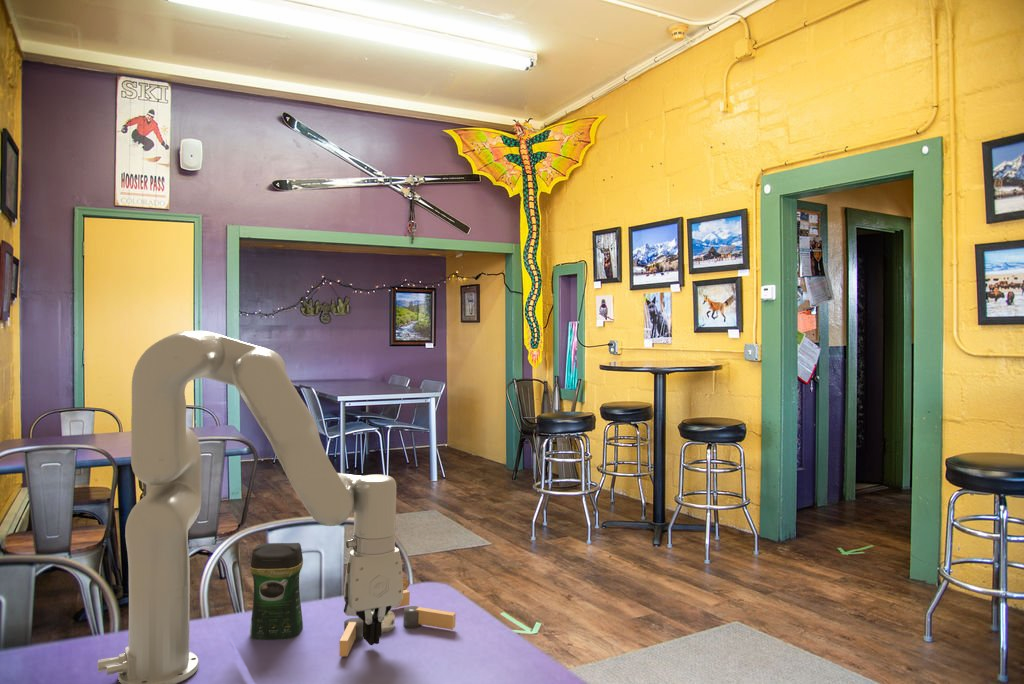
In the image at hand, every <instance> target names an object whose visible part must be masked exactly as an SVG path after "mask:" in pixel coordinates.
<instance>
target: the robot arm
mask: <svg viewBox="0 0 1024 684" xmlns="http://www.w3.org/2000/svg"><path fill="white" fill-rule="evenodd" d="M201 378H205V379H209V380H212V381H216V382H219V383H223V384H227V385H229V386H234V387H235V388H236V389H237V391H238V393H239V395H240V396H241V398H242V399H243V401H244V402H245V405H246V406H247V408H248V409H249V410H250V412H251V414H252V415H253V417H254V419H255V421H256V422H257V424H258V425H259V427H260V429H262V432H263V433H264V435H265V436H266V438H267V439H268V442H269V443H270V445H271V447H272V449H273V452H274V454H275V456H276V457H277V460H278V461H279V464H280V466H281V467H282V469H283V471H284V473H285V475H286V477H287V479H288V480H289V483H290V485H291V486H292V488H293V490H294V492H295V493H296V495H297V496H298V498H299V499H300V501H301V503H302V504H303V506H304V507H305V509H306V511H307V512H308V513H309V515H310V516H311V517H312V519H313V520H314V521H315V522H317V523H318V524H320V525H322V526H324V527H325V526H326V527H337V526H339V525H341V524H343V523H344V522H346V521H348V518H350V516H351V515H352V513H353V534H352V537H351V539H349V540H345V546H346V548H347V549H352V550H350V552H349V556H348V559H347V564H346V569H345V577H344V585H343V586H344V589H343V599H344V603H345V605H344V607H343V613H344V614H345V616H349V617H357V618H359V619H362V620H363V638H362V639H363V640H364V641H366V642H367V643H368V644H369V646H373V645H374V644H375V645H378V644H380V637H381V636H382V633H381V626H382V621H383V620H384V618H385V615H386V614H387V613H388V612H389V611H391V610H393V609H396V608H395V607H397V606H399V605H400V604H401V601H402V599H403V579H404V577H403V576H404V574H403V565H402V558H401V553H400V549H399V548H398V547H396V521H397V520H396V518H397V517H396V516H397V515H396V514H397V512H396V511H397V482H396V480H395V478H393V476H390V475H387V474H381V473H380V474H377V473H376V474H366V475H359V474H358V475H357V474H351V473H350V474H349V473H341V472H337V470H336V469H335V467H334V466H333V463H332V462H331V460H330V458H329V457H328V456H329V455H327V452H326V450H325V448H324V446H323V443H322V441H321V438H320V433H319V428H318V426H317V423H316V420H315V419H314V416H313V415H312V413H311V411H310V410H309V408H308V407H307V405H306V403H305V402H304V400H303V399H302V397H301V395H300V394H299V392H298V391H297V389H296V387H295V385H294V384H293V382H292V380H291V379H290V377H289V375H288V374H287V367H286V363H285V361H284V359H283V358H282V356H281V355H280V354H279V353H278V352H276V351H274V350H272V349H269V348H267V347H262V346H260V345H259V346H258V345H255V344H251V343H247V342H244V341H242V340H238V339H234V338H231V337H227V336H225V335H222V334H218V333H215V332H211V331H206V330H185V331H184V330H183V331H179V332H176V333H172V334H169V335H168V336H166V337H163V338H161V339H159V340H158V341H157V342H155V343H154V344H152V345H150V346H149V347H148V348H147V349H146V350H145V351H144V352H143V353H142V354H141V355H140V358H139V359H138V360H137V362H136V365H135V366H134V369H133V373H132V378H131V415H130V416H131V420H130V429H131V430H130V434H131V441H130V442H131V443H130V444H131V445H130V446H131V448H130V450H131V451H130V465H131V468H132V472H133V474H134V476H135V478H137V479H138V480H139V481H140V482H142V483H144V484H145V486H146V487H145V489H146V493H145V494H146V495H145V496H143V497H142V498H141V499H140V500H138V502H136V504H135V505H134V506H133V507H132V508H131V510H130V513H129V514H128V516H127V519H126V523H125V528H124V529H125V535H124V537H125V544H126V551H127V562H128V563H127V564H128V646H126V647H125V651H124V652H122V653H119V654H118V656H114V657H107V658H106V657H105V658H101V659H97V673H99V672H105V671H106V675H107V676H109V675H113V674H116V673H117V680H119V681H118V683H119V682H120V683H121V684H179V683H182V682H184V681H185V680H187V679H189V678H190V677H191V676H194V674H195V673H196V672H197V670H198V669H199V663H200V662H199V657H198V656H197V655H196V654H195V653H193V652H191V651H190V605H191V604H190V603H191V602H190V598H191V596H190V595H191V594H190V593H191V592H190V590H191V587H190V586H191V585H190V583H191V581H190V579H191V576H190V575H191V574H190V572H191V571H190V570H191V567H190V565H191V564H190V551H189V540H188V539H189V537H188V536H189V530H190V528H191V527H192V526H193V524H194V523H195V521H196V520H197V518H198V517H199V515H200V512H201V505H202V453H201V445H200V444H201V443H200V442H199V439H198V437H197V435H196V434H195V433H194V431H193V430H192V429H190V428H189V427H188V426H187V402H186V401H187V400H186V395H185V394H186V393H185V392H186V391H185V390H186V387H187V384H188V383H190V382H191V381H193V380H198V379H201ZM397 608H398V607H397ZM371 609H374V610H373V615H371ZM120 683H119V684H120Z"/></svg>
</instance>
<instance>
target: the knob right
mask: <svg viewBox="0 0 1024 684" xmlns="http://www.w3.org/2000/svg"><path fill="white" fill-rule="evenodd" d="M402 615H403V623H402V625H403V627H405V628H406V629H415V628H416V629H417V628H419V627H421V626H428V627H435V628H439V629H446V630H454V629H455V628H456V615H457V614H456V612H453V611H446V610H439V609H433V608H428V607H421V606H417V605H411V606H410V605H408V606H405V607H404V608H403V614H402Z"/></svg>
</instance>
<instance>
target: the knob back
mask: <svg viewBox="0 0 1024 684" xmlns="http://www.w3.org/2000/svg"><path fill="white" fill-rule="evenodd" d="M410 601H411V600H410V591H409V589H406V590H403V599H402V601H401V604H400V605H399V606H397V607H395V608H394V609H398V608H400V607H408V606H410ZM373 610H374V609H371V611H373Z"/></svg>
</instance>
